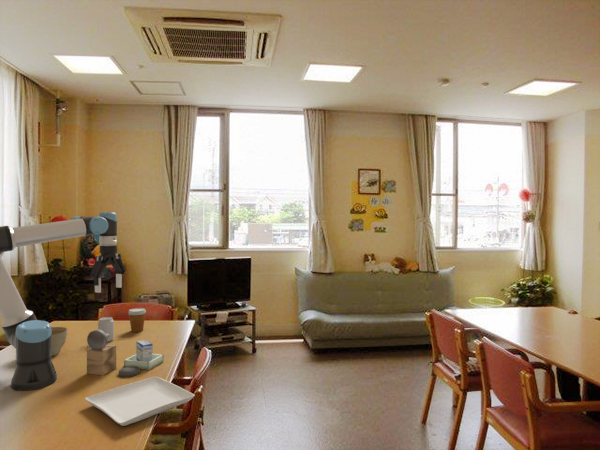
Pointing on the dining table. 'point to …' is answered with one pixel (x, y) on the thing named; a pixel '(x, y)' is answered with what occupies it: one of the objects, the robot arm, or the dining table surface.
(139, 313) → the disposable coffee cup
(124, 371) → the dark grey round puck
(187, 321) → the dining table surface
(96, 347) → the pulley stand
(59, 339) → the planter bowl
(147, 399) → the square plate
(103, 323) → the can
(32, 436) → the dining table surface
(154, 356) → the tray
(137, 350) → the medicine box
